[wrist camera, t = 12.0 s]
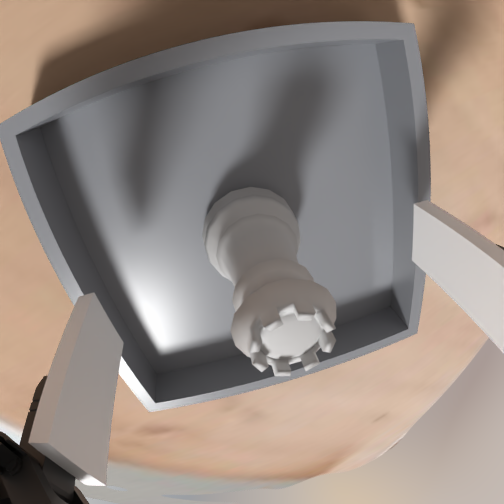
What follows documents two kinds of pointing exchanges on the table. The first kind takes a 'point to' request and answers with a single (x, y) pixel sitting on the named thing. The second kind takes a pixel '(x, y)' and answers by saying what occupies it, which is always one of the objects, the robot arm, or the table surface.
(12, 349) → the table surface
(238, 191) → the rook chess piece
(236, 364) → the tray
